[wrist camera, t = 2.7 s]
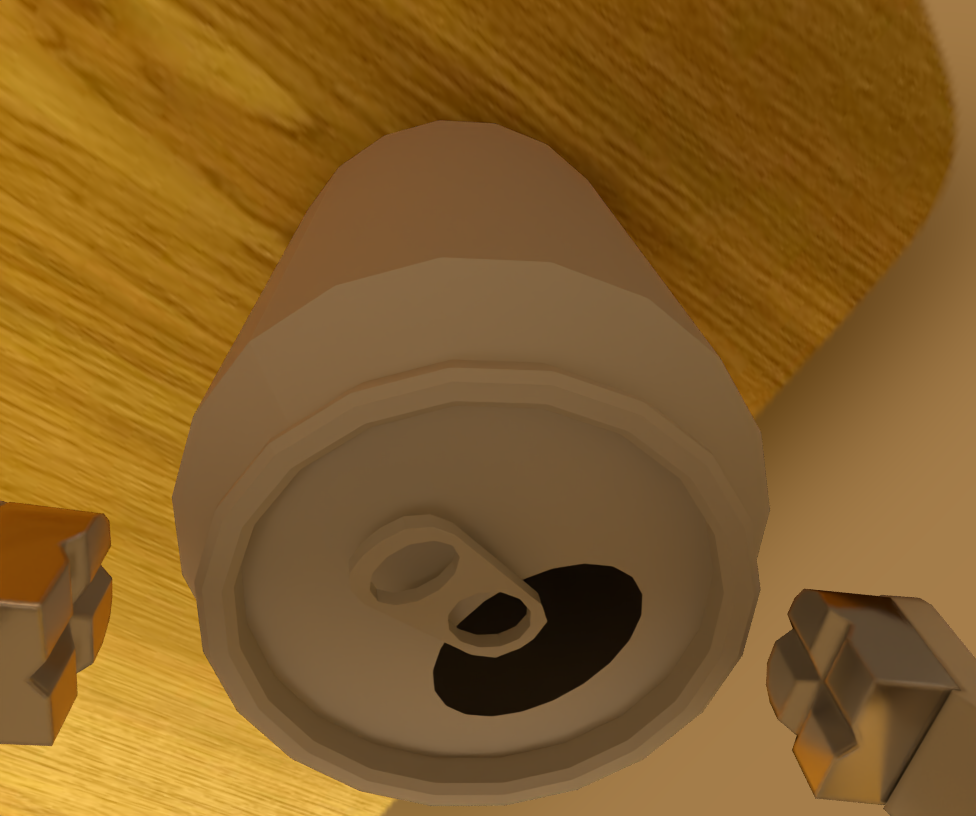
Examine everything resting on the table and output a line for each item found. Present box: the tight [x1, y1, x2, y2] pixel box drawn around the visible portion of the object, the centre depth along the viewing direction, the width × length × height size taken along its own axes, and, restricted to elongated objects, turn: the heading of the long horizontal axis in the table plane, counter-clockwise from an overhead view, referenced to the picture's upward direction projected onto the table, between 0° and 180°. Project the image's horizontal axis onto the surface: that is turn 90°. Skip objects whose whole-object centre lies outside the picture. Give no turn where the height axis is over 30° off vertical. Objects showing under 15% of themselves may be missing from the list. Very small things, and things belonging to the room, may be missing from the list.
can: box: [172, 120, 770, 806], centre depth 14 cm, size 8×8×12 cm
